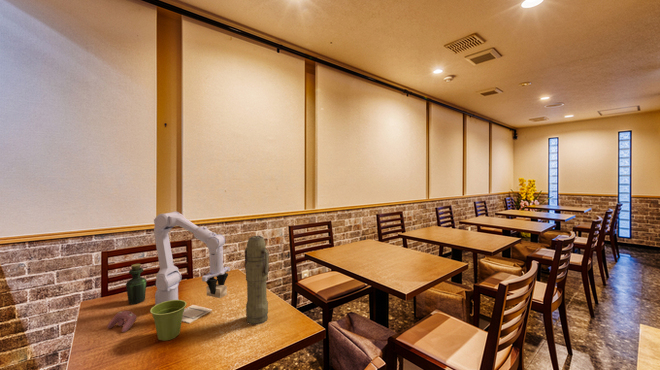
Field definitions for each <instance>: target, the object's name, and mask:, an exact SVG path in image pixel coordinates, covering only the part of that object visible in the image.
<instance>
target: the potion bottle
mask: <svg viewBox="0 0 660 370" xmlns="http://www.w3.org/2000/svg"><path fill="white" fill-rule="evenodd" d="M141 266H142V264H141V263H135V264H131V266H130V267H131V269H130V270H129V271H128V274H129V275H131V277H132V278H131V279H129V280H128V281H127V282H126V284H125V288H126V294H127V296H126V297H127V301H128V304H129V305H137V304H138V305H139V304H142V303H143V302H144V301H145V300H146V290H147V279H146V278H144V277H141V275H142V274H141V273H143V272H144V268H142V267H141Z"/></svg>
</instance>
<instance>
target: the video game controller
mask: <svg viewBox="0 0 660 370" xmlns="http://www.w3.org/2000/svg"><path fill="white" fill-rule="evenodd" d="M136 321H137V315H136V314H135V313H133V312H132V311H130V310H121V311H118V312H117V313H116V314H115V315H114V316H113V318H112V319H110V321H109V323H108V324H107V326H106V328H107V329H112V328H113V327H115V326H116V325H117V326H119V327H122V328H121V332H122V333H125V332H128V330H130V328H132V326H133V324H134V323H135V322H136Z"/></svg>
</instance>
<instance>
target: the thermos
mask: <svg viewBox="0 0 660 370" xmlns="http://www.w3.org/2000/svg"><path fill="white" fill-rule="evenodd" d="M266 244H267V243H266V241H265V238H264V237H263V236H262V235H253V236H250V237H248V240H247V244H246V247H245V248H244V270H245V280H246V290H247V291H246V294H247V295H246V296H247V298H246V299H247V300H246V305H245V315H246V323H247V324H248V325H251V326H252V325H254V326H257V325H261V324H264V323H265V322H267V321H268V319H269V318H268V314H269V302H268V299H267V279H268V274H269V269H270V265H269V264H270V261H269V259H270V257H269V255H270V254H269V251H268V249H266Z"/></svg>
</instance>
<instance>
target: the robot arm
mask: <svg viewBox="0 0 660 370" xmlns="http://www.w3.org/2000/svg"><path fill="white" fill-rule="evenodd" d="M153 223H154V229H153V235H154V240H155V247H156V252H157V257H158V258H157V259H158V265H159V271H158V272H157V273H156V275H155V277H156V280H155V286H156V291H155V294H154V299H155V300H154V302H155V304H154V306H155V305H157V304H159V303H162V302H165V301H170V300H179V285H180V282H181V280H182V274H181V272H180V271H179V267H177V266H176V265H174V259H173V253H172V248H171V242H170V236H169V235H170V234H169V233H170V231H171V230H172V229H173V228H174V227H181V228H182V229H185V230H186V231H187V232H190V233H193V236H194V238H196V239H197V240H199V241H200V242H202V243H204V244H205V245H206V247H207V249H208V254H209V271H208V272H207V273H206V274H205V275H203V276H201V281H202V282H205V283H206V285H207V286H208V287H209V289H210V293H211V294H215V293H216V284H219V285H224V286H225V284H226V281H227V279H228V276H229V273H227V272H230V271H231V267H230V266H224V245H225V243H226V237H225V236H224V235H222V233H216V232H215V231H214V232H213V231H211V230H209V229H208V226H198V225H197V224H195V223H193V222H192V221H190V220H189V219H188V218H186V217H185V216H184V214H183V213H180V212H179V211H174V210H173V211H171V212H166V213H159V214H158V215H157V216H156V217H155V218H154V219H153Z"/></svg>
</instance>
